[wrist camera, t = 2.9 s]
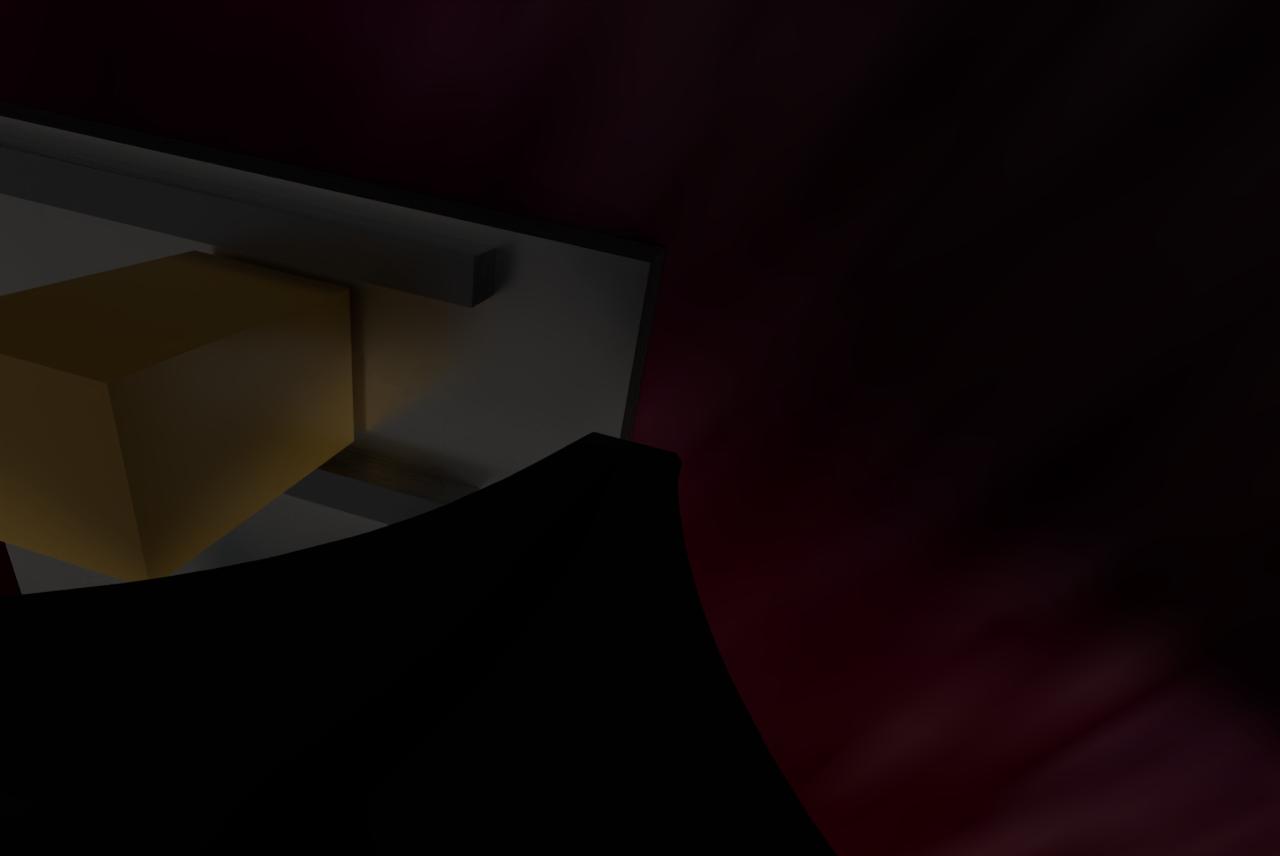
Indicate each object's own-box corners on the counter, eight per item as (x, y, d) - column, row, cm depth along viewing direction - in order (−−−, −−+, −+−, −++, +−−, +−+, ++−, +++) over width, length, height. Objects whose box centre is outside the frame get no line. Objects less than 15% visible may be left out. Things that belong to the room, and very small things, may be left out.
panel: (665, 248, 11) (551, 356, 7) (552, 868, 20) (463, 1123, 15) (-69, 85, 13) (-582, 73, 9) (106, 711, 22) (-103, 889, 17)
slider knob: (349, 288, 12) (107, 383, 8) (354, 441, 13) (150, 589, 9) (194, 250, 12) (-113, 322, 8) (215, 402, 13) (-39, 528, 9)
